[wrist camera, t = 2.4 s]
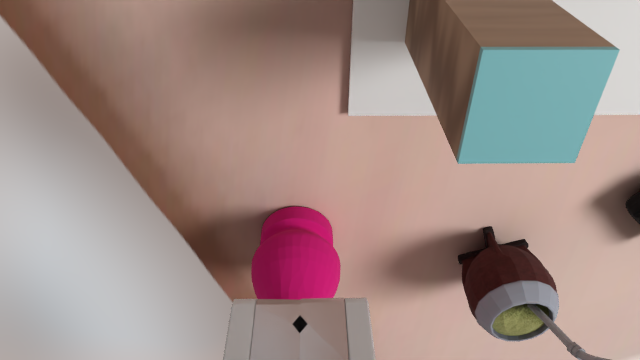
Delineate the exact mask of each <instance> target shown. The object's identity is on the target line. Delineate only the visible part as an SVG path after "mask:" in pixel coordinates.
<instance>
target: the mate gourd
mask: <svg viewBox="0 0 640 360" xmlns="http://www.w3.org/2000/svg"><path fill="white" fill-rule="evenodd" d="M483 233H484V238H485V243H486V248H485V249H482V250H478V251H474V252H470V253H466V254H462V255H459V256H458V261H459V264H462V282H463V286H464V290H465V293H466V296H467V300H468V304H469V307H470V310H471V312H472V314H473V316H474V317H475V318H476V320H477V322H478V324H479V325H480V326H482V327H483V328H484V329H485V330H486V331H487V332H488V333H490V334H491V335H492V336H494V337H496V338H498V339H502V340H505V341H523V340H528V339H532V338H534V337H537V336H539V335H541V334H543V333H544V332H545V331H547V330H548V329H550V330H551V331H552V332H553V333H554V334H555V335H556V336H557V337H558V338H559V339H560V340H561V341H562V342H563V344H564V345H565V346H566V347H567V350H568V351H569V352H570V353H571V354H572V355H573V356H574V357H576V358H577V359H578V360H610V359H605V358H600V357H595V356H592V355H590V354H587V353H585V350H584V349H582V348H581V347H580V346H579V345H578V344H576V343H575V342H572V341H571V340H570V339H569V338H568V337H567V336H566V335H565V333H564V332H563V331H562V330H561V329H560V328H559V327H558V326H557V325H556V324H555V323H554V321H555V319H556V317H557V314H558V309H559V299H558V294H557V290H556V285H555V283H554V280H553V278H552V277H551V275H550V274H549V272H548V271H547V270H546V269H545V267H544V266H543V265H542V263H541V262H540V261H539V260H538V259H537V258H536V257H535V256H534V255H533V254H532V253H531V252H530V251H529V250H528V249H527V248H528V243H527V242H526V240H525V239H523V240H518V241H514V242H510V243H506V244H502V245H499V244H497V242H496V241H495V236H494V231H493V229H492V227H490V226H489V227H485V228H484V229H483Z"/></svg>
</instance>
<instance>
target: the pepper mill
mask: <svg viewBox="0 0 640 360" xmlns="http://www.w3.org/2000/svg"><path fill="white" fill-rule="evenodd" d="M339 280H340V260H339V257H338V254H337V252H336V250H335V249H334V247H333V234H332V227H331V225H330V223H329V221H328V220H327V219H326V217H325V216H323V215H322V214H321V213H319V212H318V211H315V210H313V209H310V208H306V207H288V208H283V209H280V210H278V211H276V212H274V213H273V214H271V215H270V216H269V217H268V218H267V219H266V221H265V222H264V224H263V227H262V232H261V241H260V246H259V247H258V249H257V250H256V252H255V254H254V257H253V259H252V282H253V286H254V291H255V294H256V296H257V298H258V299H289V300H301V299H311V298H333V297H334V295H335V293H336V291H337V287H338V284H339Z"/></svg>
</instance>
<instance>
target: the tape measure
mask: <svg viewBox="0 0 640 360" xmlns="http://www.w3.org/2000/svg"><path fill="white" fill-rule="evenodd" d="M626 208H627V210H628V212H629V213H630V214H631V215H632V217H633V218H634V219H635V220H636V221H637V222H638V223H639V224H640V192H638V193H636V194H635V195H633V196H632V197H631V198H630V199H629V200H628V201H627V202H626Z"/></svg>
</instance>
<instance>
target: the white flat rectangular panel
mask: <svg viewBox="0 0 640 360" xmlns="http://www.w3.org/2000/svg"><path fill="white" fill-rule="evenodd" d="M409 1H410V0H353V12H352V33H351V54H350V76H349V97H348V116H426V115H436V112H435V110H434V108H433V105H432V103H431V101H430V99H429V96H428V94H427V92H426V90H425V87H424V85H423V83H422V80H421V78H420V76H419V74H418V71H417V69H416V67H415V65H414V62H413V60H412V58H411V55H410V53H409V51H408V49H407V46H406V44H405V35H406V27H407V18H408V9H409ZM552 1H553V2H555V3H556V4H558V5H559V6H560V7H562V8H563V9H564V10H566V11H567V12H569V13H570V14H571V15H573V16H574V17H575V18H577V19H578V20H580V21H581V22H582V23H584V24H585V25H586V26H588V27H589V28H591V29H592V30H593V31H595V32H596V33H597V34H599V35H600V36H602V37H603V38H604V39H606V40H607V41H609V42H610V43H611V44H613V45H614V46H615V47H617V48H618V49H620V51H619V53H618V56H617V58H616V61H615V63H614V66H613V68H612V71H611V73H610V76H609V78H608V81H607V83H606V86H605V88H604V91H603V93H602V96H601V98H600V101H599V103H598V106H597V108H596V111H595V113H594V115H640V0H552Z"/></svg>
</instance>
